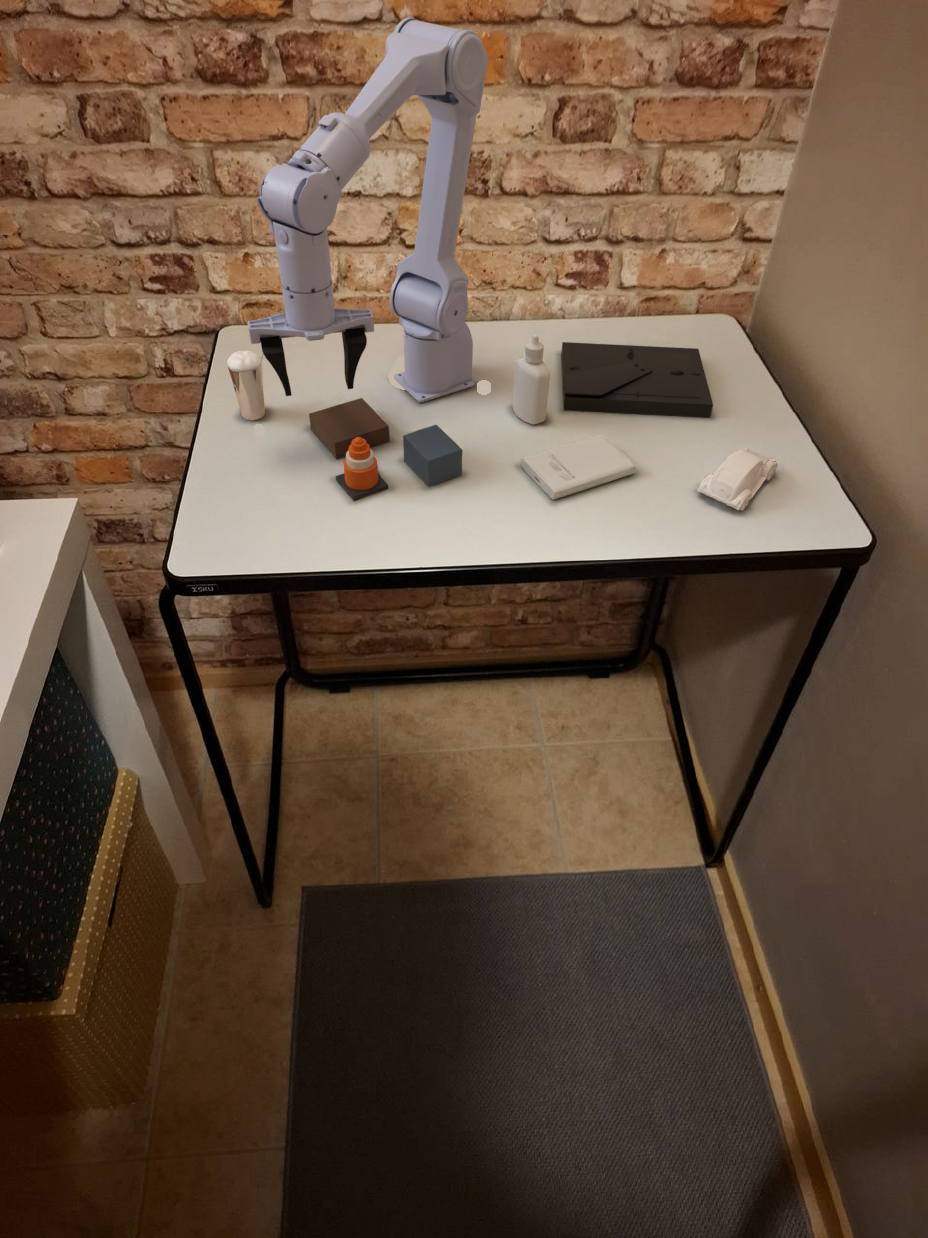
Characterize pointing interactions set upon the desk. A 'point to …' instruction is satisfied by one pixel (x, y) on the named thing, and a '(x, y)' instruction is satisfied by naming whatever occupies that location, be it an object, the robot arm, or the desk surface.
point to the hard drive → (577, 466)
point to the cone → (361, 471)
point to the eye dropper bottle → (531, 384)
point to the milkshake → (248, 383)
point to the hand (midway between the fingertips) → (318, 388)
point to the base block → (348, 426)
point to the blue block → (432, 455)
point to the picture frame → (634, 380)
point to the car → (738, 478)
